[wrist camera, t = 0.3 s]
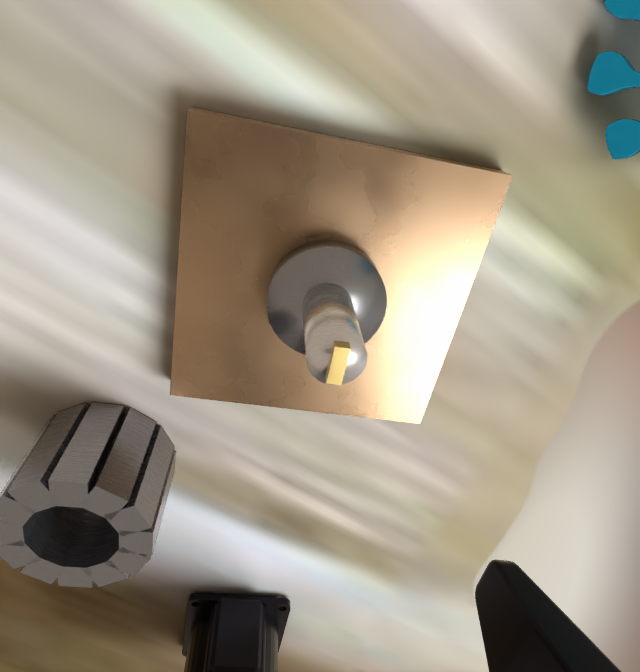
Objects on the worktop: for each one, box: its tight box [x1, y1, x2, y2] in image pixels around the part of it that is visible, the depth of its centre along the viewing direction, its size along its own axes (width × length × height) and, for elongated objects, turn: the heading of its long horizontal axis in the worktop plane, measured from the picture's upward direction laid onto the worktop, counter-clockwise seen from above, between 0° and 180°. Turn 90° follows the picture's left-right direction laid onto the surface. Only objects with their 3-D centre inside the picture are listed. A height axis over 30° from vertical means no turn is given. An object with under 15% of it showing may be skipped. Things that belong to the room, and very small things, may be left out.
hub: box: [0, 402, 176, 588], centre depth 23 cm, size 7×7×5 cm
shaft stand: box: [170, 107, 513, 424], centre depth 18 cm, size 12×12×6 cm
